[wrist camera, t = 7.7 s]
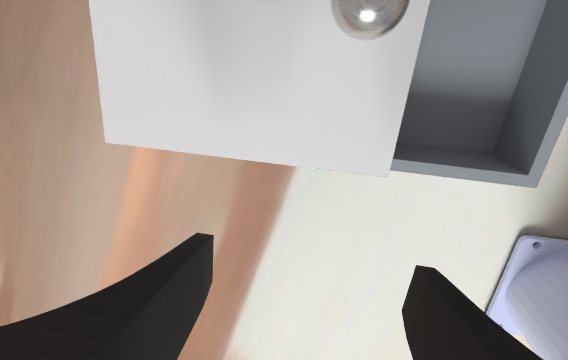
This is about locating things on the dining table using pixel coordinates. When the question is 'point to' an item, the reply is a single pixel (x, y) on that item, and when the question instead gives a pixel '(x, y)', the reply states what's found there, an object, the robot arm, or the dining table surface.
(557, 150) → the dining table surface
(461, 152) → the grey shallow tray
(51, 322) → the robot arm
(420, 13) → the lid
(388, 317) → the dining table surface
